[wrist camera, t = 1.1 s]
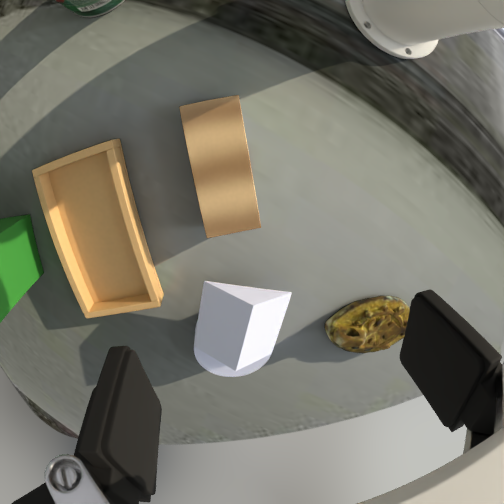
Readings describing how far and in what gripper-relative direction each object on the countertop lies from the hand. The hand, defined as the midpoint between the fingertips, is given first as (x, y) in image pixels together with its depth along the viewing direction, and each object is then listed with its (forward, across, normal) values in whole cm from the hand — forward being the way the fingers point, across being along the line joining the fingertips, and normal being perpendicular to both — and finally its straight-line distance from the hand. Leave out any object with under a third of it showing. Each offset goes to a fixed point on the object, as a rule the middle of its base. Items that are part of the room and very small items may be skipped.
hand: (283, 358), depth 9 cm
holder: (+23, +15, +1) cm, 27 cm away
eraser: (+22, +1, -4) cm, 23 cm away
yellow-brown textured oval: (+23, -16, +20) cm, 34 cm away
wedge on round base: (+23, +2, +14) cm, 27 cm away
